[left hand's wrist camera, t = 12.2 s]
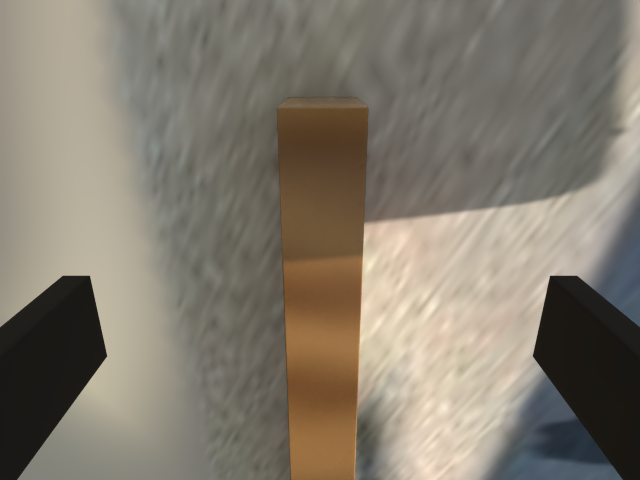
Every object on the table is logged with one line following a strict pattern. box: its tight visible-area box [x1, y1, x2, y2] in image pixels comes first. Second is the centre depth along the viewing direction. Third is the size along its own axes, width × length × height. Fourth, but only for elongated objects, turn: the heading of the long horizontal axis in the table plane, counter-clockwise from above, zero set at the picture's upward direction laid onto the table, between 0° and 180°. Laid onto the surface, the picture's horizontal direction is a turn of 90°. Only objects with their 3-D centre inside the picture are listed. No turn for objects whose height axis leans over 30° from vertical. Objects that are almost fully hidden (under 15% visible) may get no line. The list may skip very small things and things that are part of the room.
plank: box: [277, 98, 368, 480], centre depth 37 cm, size 57×5×7 cm, turn 0°
